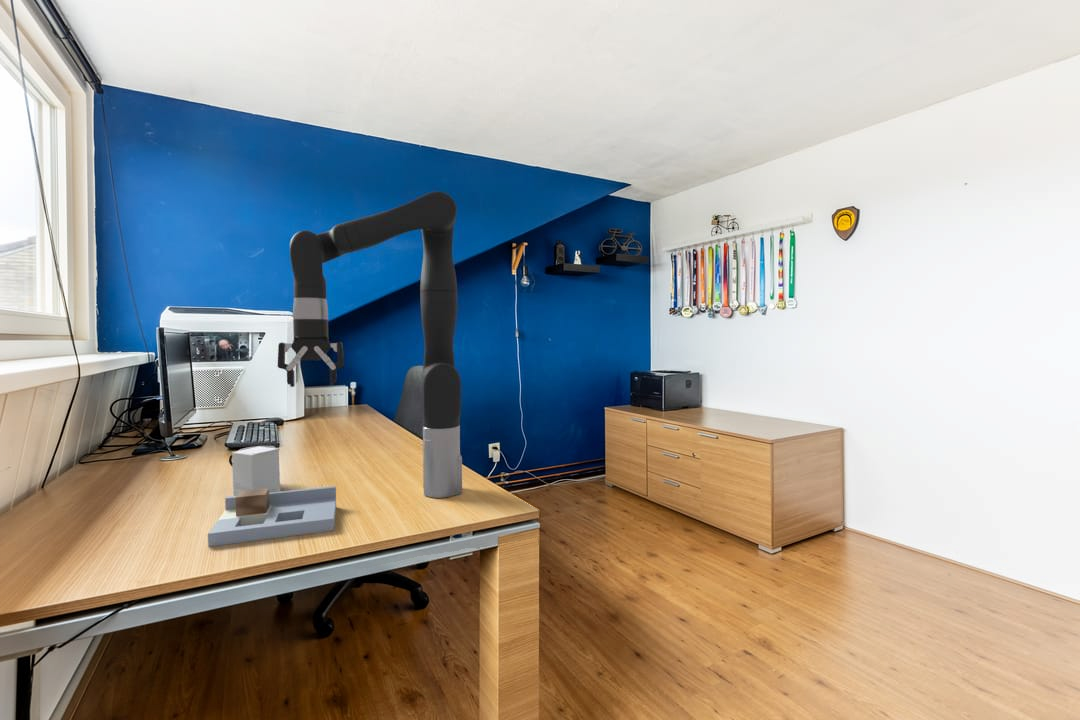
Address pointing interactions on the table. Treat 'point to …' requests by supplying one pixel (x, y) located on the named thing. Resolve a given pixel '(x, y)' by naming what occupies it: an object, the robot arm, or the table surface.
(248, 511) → the walnut block
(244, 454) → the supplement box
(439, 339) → the robot arm
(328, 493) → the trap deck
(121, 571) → the table surface
